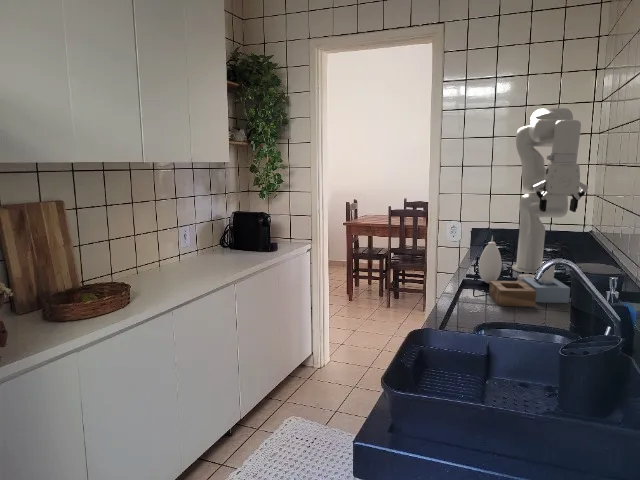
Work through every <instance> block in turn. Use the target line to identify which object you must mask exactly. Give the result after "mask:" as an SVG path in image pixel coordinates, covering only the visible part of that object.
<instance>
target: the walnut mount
mask: <svg viewBox="0 0 640 480" xmlns="http://www.w3.org/2000/svg"><path fill="white" fill-rule="evenodd" d="M488 296H489V297H490V298H491V299H492V300H493V301H494V302H495V303H496V304H497V305H498V306H500V307H536V302H535V299H536V291H535V290H534V289H533V288H531V287H530V286H528V285H527V284H526V283H524V282H523V281H518V280H496V281H490V284H489V288H488Z"/></svg>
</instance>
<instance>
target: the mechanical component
mask: <svg viewBox="0 0 640 480" xmlns="http://www.w3.org/2000/svg"><path fill="white" fill-rule="evenodd" d="M517 275H518V277H517V281H522V280H523V278H534V277H535V275H536V274H529V273H523V274H521V273H520V274H517Z"/></svg>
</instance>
